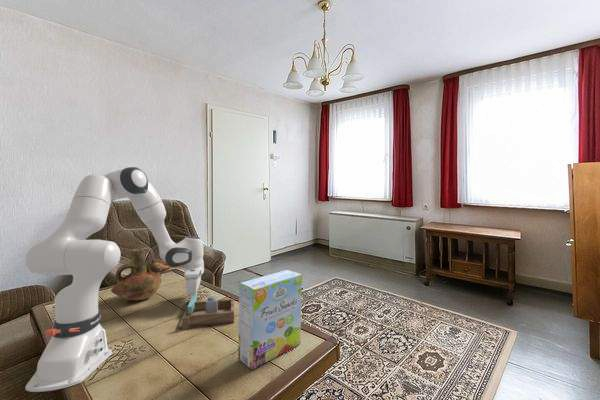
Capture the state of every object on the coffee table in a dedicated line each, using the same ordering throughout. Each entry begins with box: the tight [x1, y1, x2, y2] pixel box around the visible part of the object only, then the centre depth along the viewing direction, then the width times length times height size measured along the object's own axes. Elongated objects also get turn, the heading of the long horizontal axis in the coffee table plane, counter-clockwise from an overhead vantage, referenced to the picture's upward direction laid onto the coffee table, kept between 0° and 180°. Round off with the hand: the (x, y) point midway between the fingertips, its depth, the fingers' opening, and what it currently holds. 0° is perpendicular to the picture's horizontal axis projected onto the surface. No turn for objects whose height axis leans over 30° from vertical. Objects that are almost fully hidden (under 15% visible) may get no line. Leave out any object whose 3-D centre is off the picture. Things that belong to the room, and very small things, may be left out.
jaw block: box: [205, 295, 219, 313], centre depth 122 cm, size 4×4×8 cm
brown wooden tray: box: [178, 297, 235, 331], centre depth 128 cm, size 30×21×4 cm
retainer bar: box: [187, 295, 197, 314], centre depth 129 cm, size 14×2×3 cm, turn 12°
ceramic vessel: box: [110, 248, 171, 302], centre depth 142 cm, size 17×26×25 cm, turn 123°
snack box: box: [237, 269, 303, 371], centre depth 96 cm, size 22×9×26 cm, turn 136°
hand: (194, 297), depth 138 cm, fingers closed
